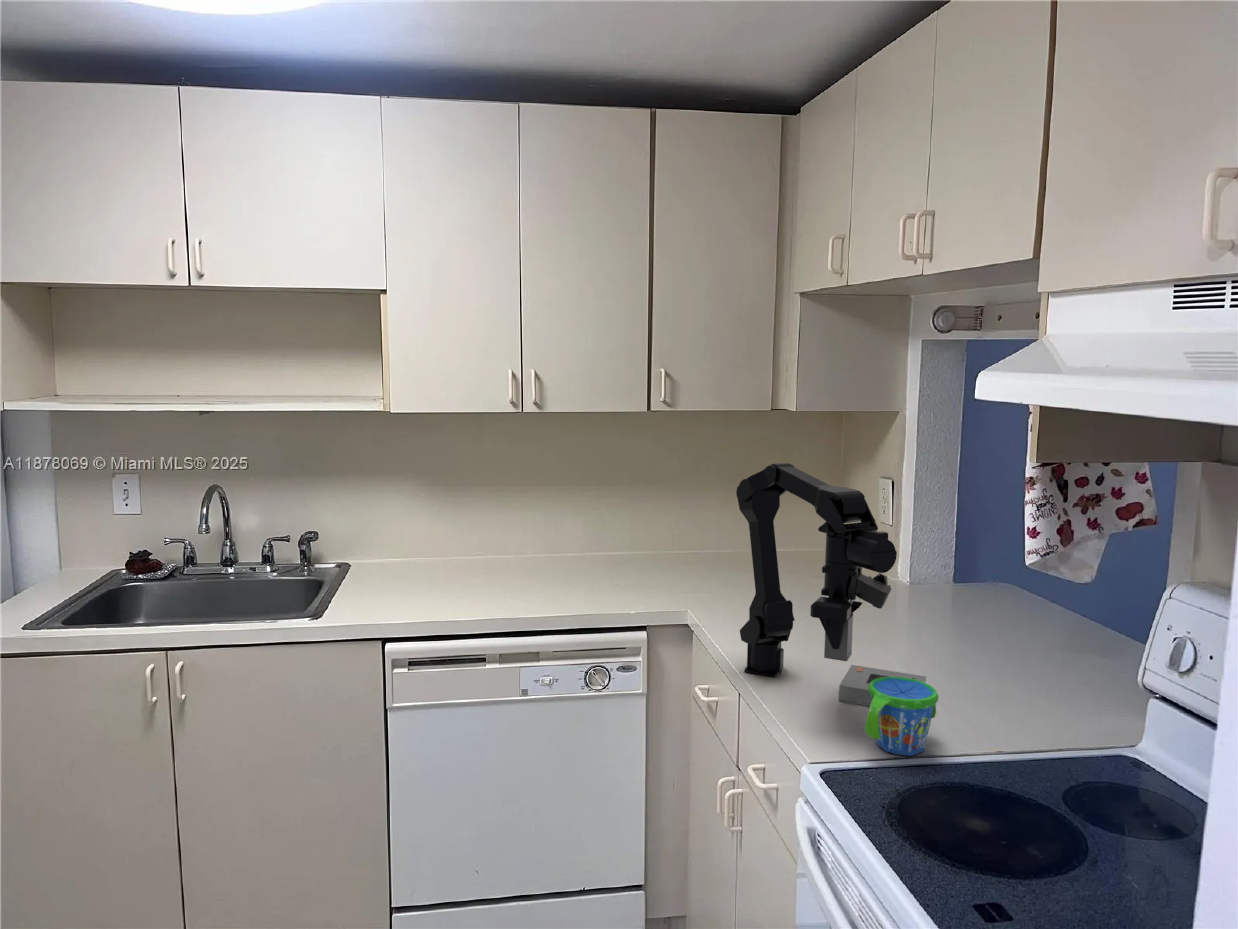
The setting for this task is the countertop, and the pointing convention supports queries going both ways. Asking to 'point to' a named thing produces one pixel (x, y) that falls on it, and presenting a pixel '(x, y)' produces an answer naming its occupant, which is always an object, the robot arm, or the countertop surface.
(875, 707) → the snack cup
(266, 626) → the countertop surface
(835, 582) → the robot arm
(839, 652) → the plug
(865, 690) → the socket plate
